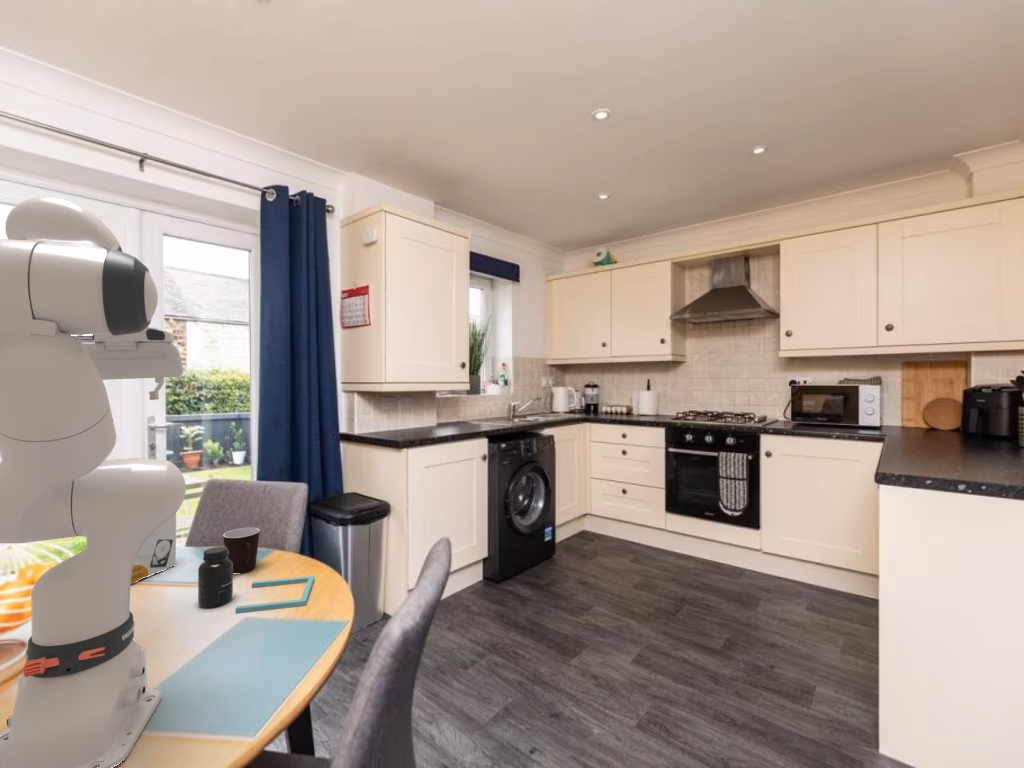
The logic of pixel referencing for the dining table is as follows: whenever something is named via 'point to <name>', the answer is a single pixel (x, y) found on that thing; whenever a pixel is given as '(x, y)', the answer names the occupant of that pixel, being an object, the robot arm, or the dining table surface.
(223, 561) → the supplement bottle
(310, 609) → the dining table surface
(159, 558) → the hard drive box
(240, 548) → the coffee mug
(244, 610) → the teal frame
